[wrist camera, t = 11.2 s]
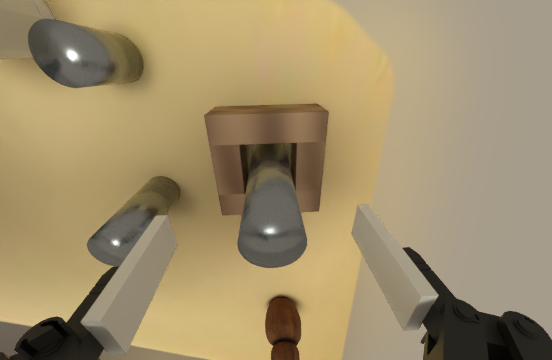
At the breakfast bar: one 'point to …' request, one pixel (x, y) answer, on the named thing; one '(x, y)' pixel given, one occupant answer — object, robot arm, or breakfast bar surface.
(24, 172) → the breakfast bar surface
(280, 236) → the long pin
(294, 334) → the wooden figurine
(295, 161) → the hole block
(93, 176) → the breakfast bar surface
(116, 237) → the medium pin
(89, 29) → the short pin
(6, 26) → the cup
